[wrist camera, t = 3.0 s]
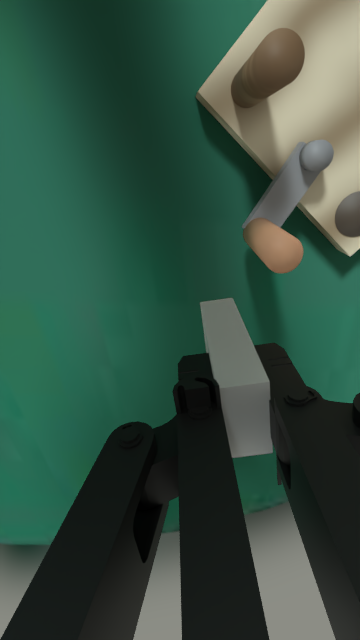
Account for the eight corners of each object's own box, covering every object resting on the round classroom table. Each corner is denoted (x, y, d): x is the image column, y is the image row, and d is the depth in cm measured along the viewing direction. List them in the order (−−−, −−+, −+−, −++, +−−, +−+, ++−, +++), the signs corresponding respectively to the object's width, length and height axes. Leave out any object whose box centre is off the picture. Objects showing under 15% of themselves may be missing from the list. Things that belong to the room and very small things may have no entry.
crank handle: (304, 133, 25) (355, 124, 18) (328, 152, 26) (386, 151, 19) (235, 235, 28) (256, 261, 21) (258, 250, 29) (286, 280, 22)
